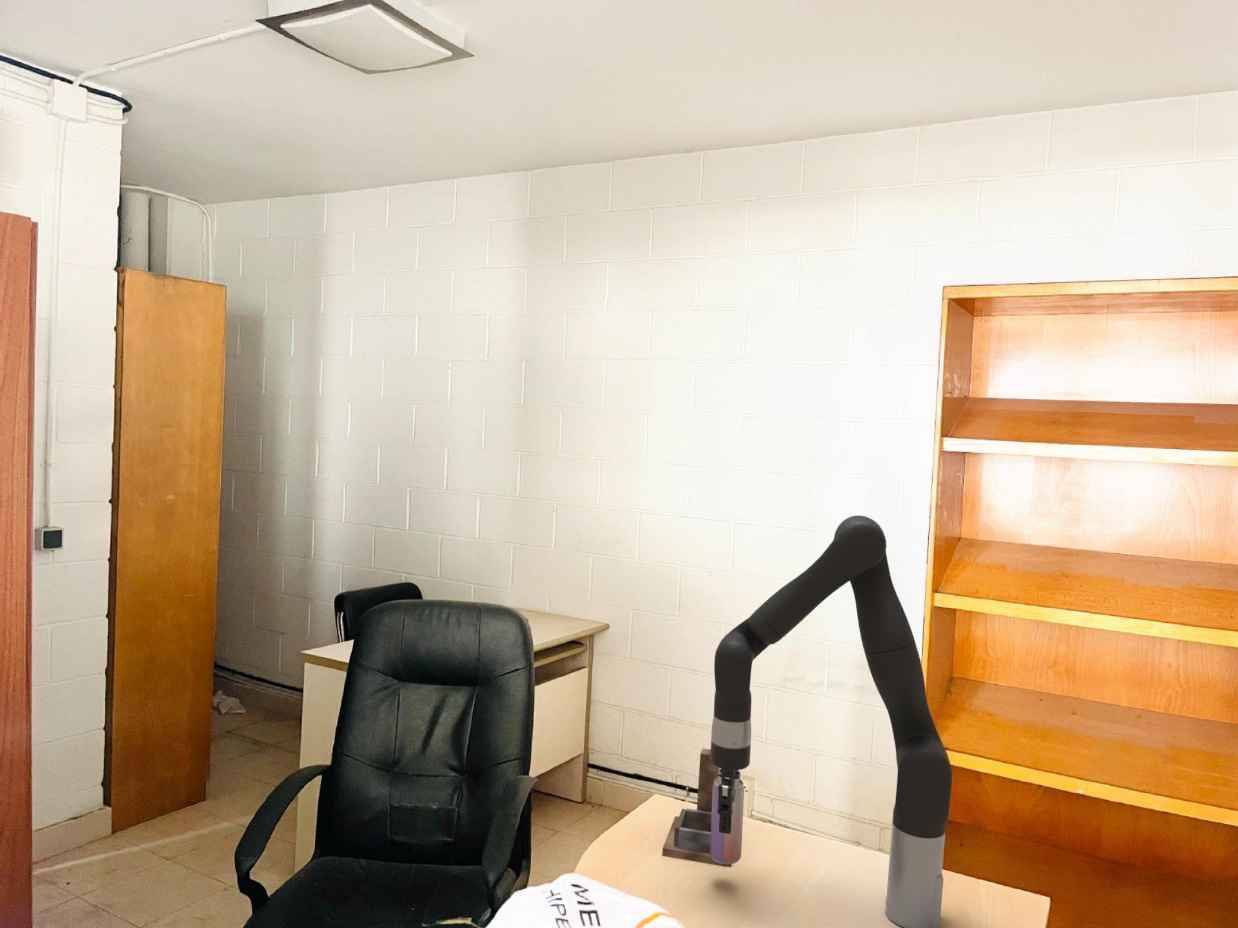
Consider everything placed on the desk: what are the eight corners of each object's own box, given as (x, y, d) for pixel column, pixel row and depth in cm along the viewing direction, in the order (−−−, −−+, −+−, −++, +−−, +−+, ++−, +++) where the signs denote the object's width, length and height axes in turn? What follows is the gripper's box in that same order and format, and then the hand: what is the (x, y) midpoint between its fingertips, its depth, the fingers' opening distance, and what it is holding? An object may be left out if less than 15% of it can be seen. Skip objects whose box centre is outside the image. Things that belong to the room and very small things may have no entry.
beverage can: (706, 862, 174) (710, 785, 173) (713, 847, 180) (716, 773, 179) (738, 867, 172) (741, 790, 171) (743, 853, 178) (746, 778, 177)
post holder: (738, 832, 198) (744, 754, 196) (731, 866, 183) (736, 781, 182) (674, 822, 201) (679, 744, 199) (662, 855, 186) (667, 771, 185)
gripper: (747, 755, 166) (742, 844, 168) (754, 728, 180) (750, 811, 182) (706, 750, 168) (702, 838, 169) (716, 724, 182) (712, 805, 183)
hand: (726, 824), depth 175 cm, fingers closed on beverage can, 6 cm apart
